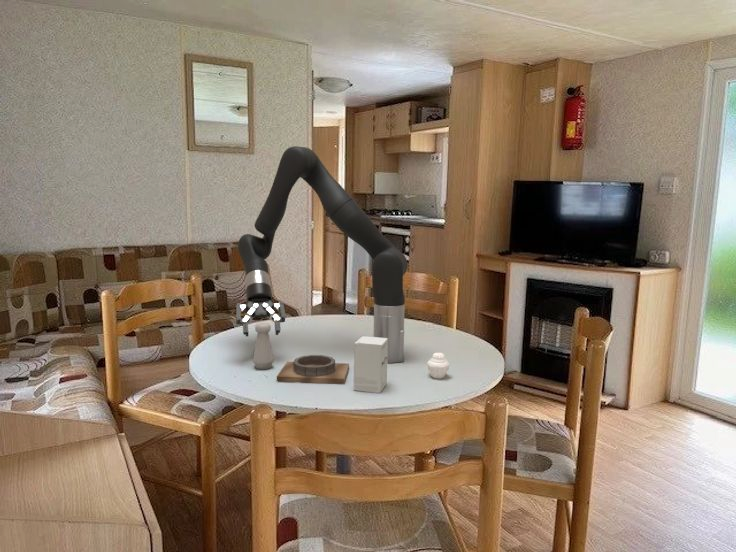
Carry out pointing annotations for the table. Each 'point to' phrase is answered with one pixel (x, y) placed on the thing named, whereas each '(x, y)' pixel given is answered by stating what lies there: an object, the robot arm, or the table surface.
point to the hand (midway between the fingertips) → (262, 334)
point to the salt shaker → (263, 347)
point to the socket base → (314, 370)
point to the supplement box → (370, 364)
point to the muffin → (438, 365)
